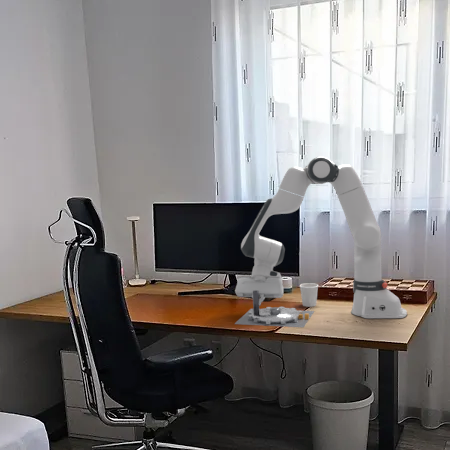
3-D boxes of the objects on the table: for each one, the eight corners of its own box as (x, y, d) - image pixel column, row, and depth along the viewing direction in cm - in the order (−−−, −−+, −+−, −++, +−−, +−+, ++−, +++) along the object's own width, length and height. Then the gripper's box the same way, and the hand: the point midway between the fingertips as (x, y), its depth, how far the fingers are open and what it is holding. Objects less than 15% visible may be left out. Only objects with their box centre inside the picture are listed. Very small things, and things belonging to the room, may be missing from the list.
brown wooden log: (268, 303, 270) (268, 291, 269) (259, 302, 272) (259, 290, 272) (289, 293, 289) (289, 282, 288) (280, 292, 291) (280, 281, 291)
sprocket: (293, 308, 253) (293, 282, 252) (311, 321, 231) (310, 293, 230) (242, 312, 249) (241, 286, 248) (255, 326, 227) (254, 297, 226)
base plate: (314, 313, 248) (314, 306, 247) (303, 329, 224) (303, 322, 224) (251, 310, 256) (250, 304, 256) (234, 326, 233) (233, 319, 232)
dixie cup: (317, 304, 263) (316, 282, 262) (320, 309, 255) (319, 286, 254) (298, 305, 263) (298, 283, 262) (301, 309, 255) (300, 287, 254)
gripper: (236, 272, 249) (230, 300, 241) (283, 273, 243) (279, 301, 235) (240, 280, 254) (234, 308, 246) (286, 281, 247) (281, 309, 239)
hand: (256, 304), depth 240 cm, fingers closed
